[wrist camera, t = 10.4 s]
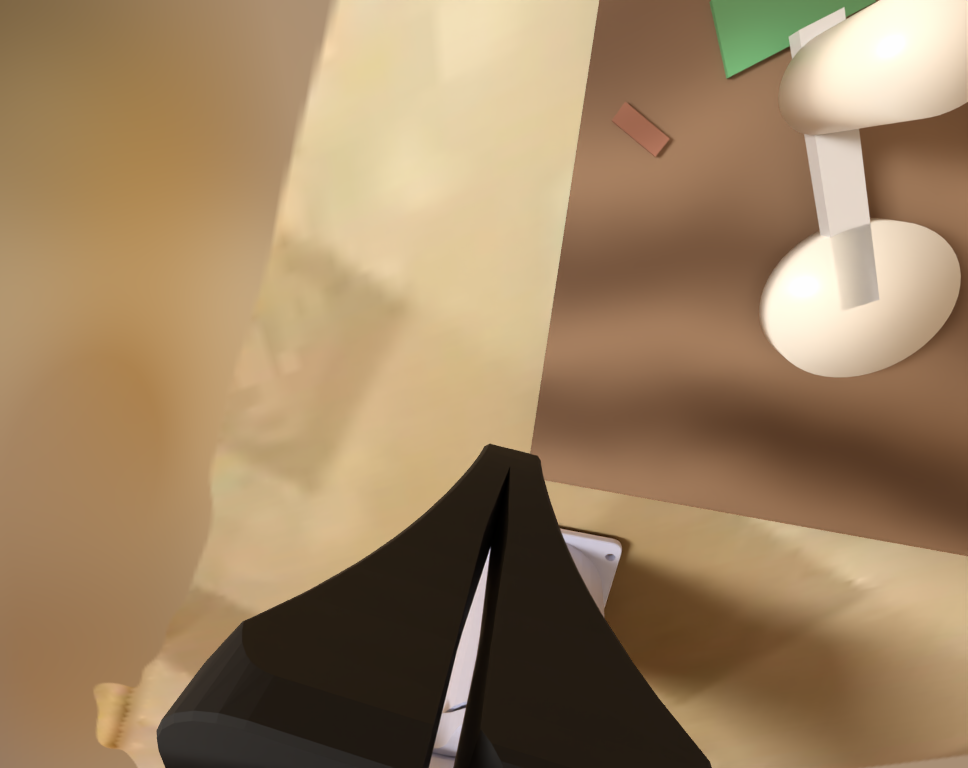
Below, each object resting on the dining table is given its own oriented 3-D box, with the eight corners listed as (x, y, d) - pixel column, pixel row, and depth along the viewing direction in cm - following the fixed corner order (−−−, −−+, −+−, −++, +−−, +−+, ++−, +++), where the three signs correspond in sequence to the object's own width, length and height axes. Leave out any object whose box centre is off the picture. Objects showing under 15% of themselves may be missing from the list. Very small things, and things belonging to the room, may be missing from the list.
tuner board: (950, 531, 19) (981, 561, 18) (529, 458, 22) (526, 479, 20) (1425, -84, 10) (1571, -128, 9) (613, -89, 13) (618, -124, 11)
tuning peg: (940, 337, 14) (1102, 411, 10) (773, 383, 16) (849, 463, 12) (914, -27, 11) (1145, -162, 7) (705, 79, 13) (776, 30, 8)
